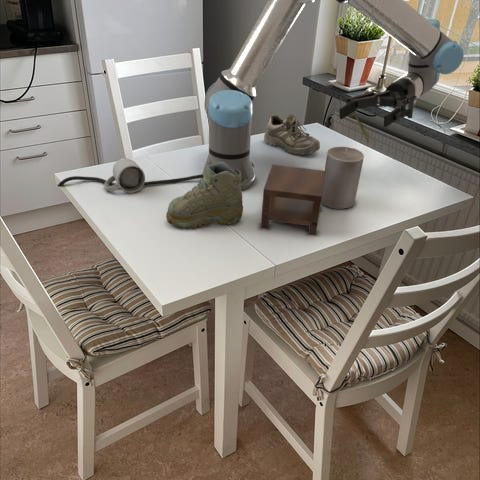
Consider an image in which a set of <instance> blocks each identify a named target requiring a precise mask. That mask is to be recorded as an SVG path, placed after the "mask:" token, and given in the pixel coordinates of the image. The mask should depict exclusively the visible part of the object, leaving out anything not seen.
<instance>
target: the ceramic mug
mask: <svg viewBox="0 0 480 480" xmlns="http://www.w3.org/2000/svg"><path fill="white" fill-rule="evenodd" d="M105 180H106V182H105V183H103V186H104V188H105V190H106V192H109V193H113V192H115V191H117V190H122V192H125V193H127V194H132V193H137V192H139V191H141V189H142V188H143V187H144V186H143V185H144V183H145V182H146V175H145V172H144V170H143V169H142V167H140V166H139V165H138V164H137V163H136V161H135V160H132V159H131V158H127V157H122V158H120V159H118V160H117V161H115V162H114V164H113V166H112V176H110V177H108V178H107V179H105ZM110 182H112V183H115V182H116V183H115V185H113V186H110V185H109V183H110ZM127 187H132V188H127Z"/></svg>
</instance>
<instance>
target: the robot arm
mask: <svg viewBox="0 0 480 480" xmlns="http://www.w3.org/2000/svg"><path fill="white" fill-rule="evenodd" d="M335 1H336V2H338V3H339V4H340V5H342V4H346V3H347V4H348V5H349V6H351V7H352V8H354V9H355V10H356V11H357V12H359V13H360V14H361V15H363V17H365V18H366V19H367V20H369V21H370V22H371V23H373V24H374V25H375V26H377V27H378V28H380V29H381V30H382V31H384V33H386V34H387V35H389V36H390V37H391V38H392V39H394V40H395V41H396V42H398V43H399V44H400V45H402V46H403V47H404V48H406V50H408V63H407V64H408V65H407V73H405V74H403V75H402V76H400V77H399V78H397V79H395V80H394V81H392V82H391V83H389V84H388V86H387V87H386V88H385V90H384V91H382V92H377V90H376V89H373V90H370V91H368V92H365V93H361V94H357V95H354V96H350V97H347V98H345V105H343V106H342V107H340V108H339V120H343V119H345V118H346V117H348V116H350V115H351V114H352V113H353V114H354V112H356V110H359V109H365V108H366V109H367V108H370V107H375V108H381V107H384V108H386V107H389V108H392V109H393V110H391V111H390V112H389V113H387V114H385V115H383V127H384V128H387V127H389V126H390V125H391V124H393V123H395V122H397V121H399V120H401V119H404V118H405V117H407V119H412V118H413V113H414V108H415V107H416V106H417V99H418V98H419V97H421V96H424V94H427V93H428V92H430V91H431V90H432V89H433V88H434V87H435V86H436V85H437V84H438V82H439V80H440V77H441V75H449V74H452V73H454V72H455V71H457V70H458V69H459V67H460V66H461V64H462V63H463V60H464V55H465V53H464V49H463V47H462V46H461V45H460V44H459V43H458V42H457V41H456V40H452V38H450V37H449V36H447V35H446V34H445V33H444V32H442V31H441V29H440V28H441V23H440V21H439V20H438V19H435V18H426V17H425V16H423V15H422V14H421V13H419V12H418V11H417V10H416V9H414V8H413V6H412V5H410V4H409V3H408V2H406V1H405V0H335ZM314 2H315V0H268V1H267V3H266V4H265V6H264V8H263V10H262V12H261V13H260V15H259V16H258V19H257V20H256V22H255V24H254V26H253V27H252V29H251V30H250V33H249V34H248V36H247V38H246V39H245V41H244V43H243V45H242V47H241V49H240V50H239V52H238V54H237V56H236V57H235V59H234V61H233V63H232V64H231V66H230V68H228V69H225V70H222V71H221V72H220V75H219V77H218V78H217V80H216V81H215V82H214V83H212V84H211V85H210V87H209V88H208V89H207V91H206V93H205V97H204V110H205V114H206V118H207V123H208V154H207V158H206V161H205V164H204V167H203V170H202V174H195V175H190V176H184V177H177V178H170V179H161V180H150V181H145V183H144V185H143V187H147V186H152V185H153V186H154V185H161V184H163V185H164V184H171V183H179V182H186V181H191V180H197V179H201V178H204V176H205V172H206V167H207V165H213V164H215V163H217V162H225V163H226V164H227V165H228V166H229V167H230V168H231V169H232V170H239V171H240V173H241V176H242V180H241V182H240V185H241V191H244V190H246V189H249V188H251V187H252V186H253V185H254V184H255V180H256V174H255V171H254V168H255V166H254V163H253V162H252V159H251V154H250V153H251V141H252V140H251V138H252V137H251V136H252V120H253V113H254V108H253V101H254V100H255V98H256V97H257V91H256V87H257V85H258V83H259V81H260V80H261V78H262V77H263V75H264V74H265V72H266V70H267V68H268V67H269V65H270V63H271V62H272V60H273V58H274V57H275V55H276V53H277V51H278V50H279V48H280V47H281V45H282V43H283V42H284V40H285V38H286V37H287V35H288V34H289V32H290V30H291V29H292V27H293V25H294V24H295V22H296V20H297V19H298V17H299V16H300V14H301V12H302V11H303V9H304V7H305V6H306V5H307V4H310V3H314ZM406 106H407V107H406ZM106 180H107V179H104V178H102V177H95V176H82V175H81V176H80V175H79V176H78V175H76V176H68V177H66V178H64V179H62V180H61V181H60V182H59V183H58V184H57V187H58V188H59V187H63V185H65V184H67V183H68V182H70V181H93V182H94V181H95V182H100V183H102V184H104V183H105V182H106ZM115 184H116V183H115V182H110V183H109V187H110V186H113V185H115ZM127 188H132V187H127Z"/></svg>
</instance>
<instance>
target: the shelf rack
mask: <svg viewBox="0 0 480 480" xmlns="http://www.w3.org/2000/svg"><path fill="white" fill-rule="evenodd" d="M325 172H326V171H325V170H323V169H316V168H315V169H313V168H305V167H299V166H298V167H296V166H289V165H288V166H287V165H279V164H271V167H270V170H269V173H268V176H267V179H266V182H265V184H264V187H263V191H262V192H263V193H262V206H261V207H262V208H261V218H260V219H261V220H260V229H267V230H268V229H269V225H270V222H277V223H285V224H293V225H301V226H309V229H308V235H312V236H316V235H317V230H318V226H319V218H320V211H321V205H322V203H321V200H322V193H323V186H324V179H325Z"/></svg>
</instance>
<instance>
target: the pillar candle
mask: <svg viewBox="0 0 480 480" xmlns="http://www.w3.org/2000/svg"><path fill="white" fill-rule="evenodd" d="M364 159H365V154H364V153H363V152H362V151H361V150H359V149H356V148H353V147H349V146H335V147H331V148H329V149H328V150H327V154H326V159H325V166H324V171H326V172H325V179H324V186H323V193H322V200H321V205H324V206H326V207H328V208H330V209H335V210H343V209H349V208H352V207H353V206H354V205H355V202H356V198H357V194H358V188H359V184H360V179H361V173H362V168H363V163H364Z"/></svg>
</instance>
